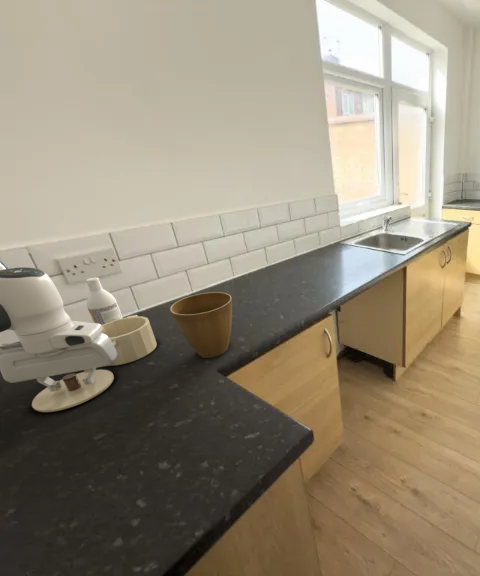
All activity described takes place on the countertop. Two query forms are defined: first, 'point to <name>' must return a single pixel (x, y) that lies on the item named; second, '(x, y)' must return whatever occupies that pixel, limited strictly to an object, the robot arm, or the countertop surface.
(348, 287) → the countertop surface
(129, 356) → the pot
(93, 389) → the lid
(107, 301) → the bath foam
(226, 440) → the countertop surface
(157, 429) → the countertop surface
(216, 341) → the plant pot
